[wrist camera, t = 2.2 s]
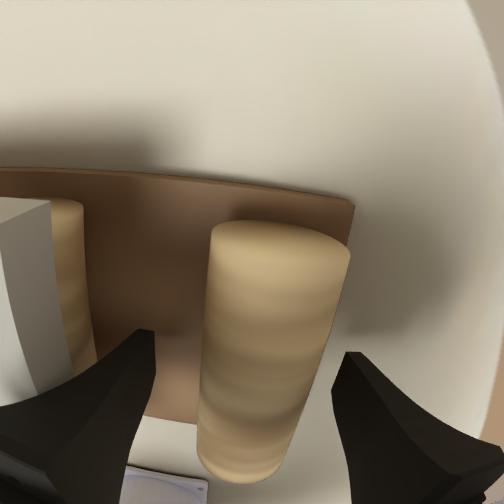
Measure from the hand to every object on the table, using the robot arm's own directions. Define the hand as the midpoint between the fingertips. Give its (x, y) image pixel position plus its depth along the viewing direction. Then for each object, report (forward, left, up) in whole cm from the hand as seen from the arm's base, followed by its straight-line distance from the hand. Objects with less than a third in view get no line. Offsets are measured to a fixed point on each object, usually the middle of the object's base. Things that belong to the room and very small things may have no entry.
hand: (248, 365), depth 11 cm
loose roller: (0, 0, -2) cm, 2 cm away
